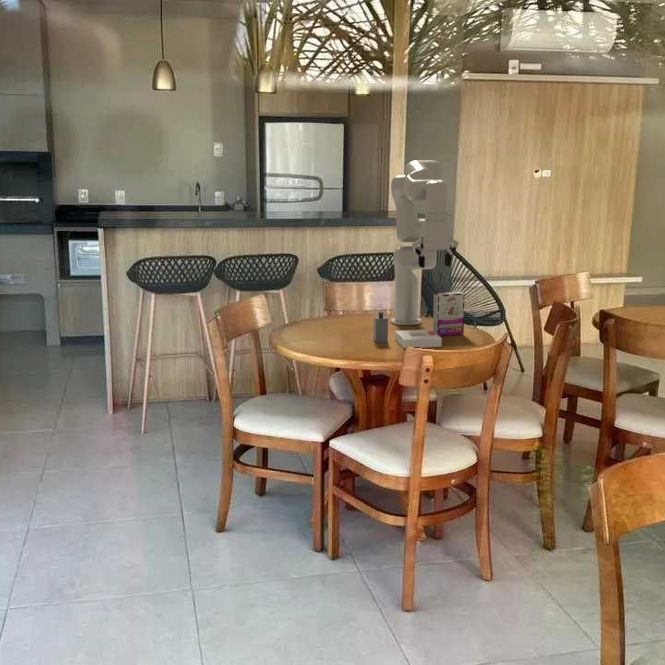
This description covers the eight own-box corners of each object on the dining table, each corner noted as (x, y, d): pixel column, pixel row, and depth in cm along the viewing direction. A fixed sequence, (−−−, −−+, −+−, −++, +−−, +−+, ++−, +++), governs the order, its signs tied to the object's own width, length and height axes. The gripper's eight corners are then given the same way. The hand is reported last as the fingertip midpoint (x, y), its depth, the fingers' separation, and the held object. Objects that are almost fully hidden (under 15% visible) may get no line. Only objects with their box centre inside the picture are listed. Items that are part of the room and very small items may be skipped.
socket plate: (395, 339, 290) (395, 328, 289) (430, 337, 292) (431, 327, 291) (403, 348, 277) (404, 337, 276) (441, 346, 279) (441, 336, 278)
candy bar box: (458, 332, 301) (459, 290, 297) (463, 334, 297) (465, 293, 293) (432, 333, 298) (433, 292, 294) (437, 336, 294) (438, 294, 290)
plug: (373, 339, 289) (374, 311, 287) (385, 339, 290) (385, 311, 287) (375, 342, 285) (376, 313, 283) (387, 342, 286) (388, 313, 283)
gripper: (454, 216, 270) (452, 264, 274) (408, 217, 266) (407, 266, 270) (463, 217, 263) (461, 267, 267) (416, 219, 259) (415, 269, 263)
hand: (434, 266), depth 268 cm, fingers open, 9 cm apart
